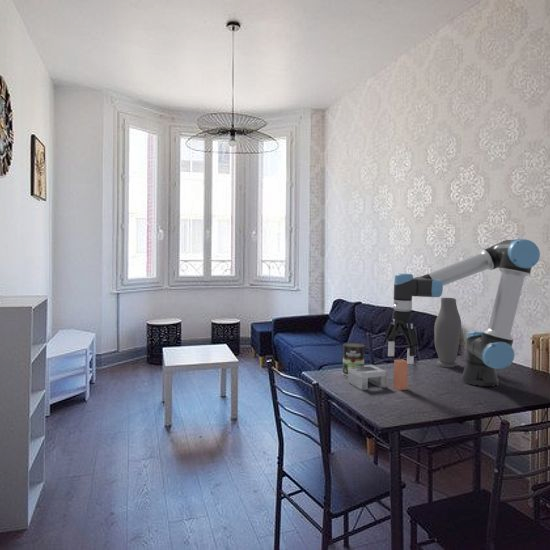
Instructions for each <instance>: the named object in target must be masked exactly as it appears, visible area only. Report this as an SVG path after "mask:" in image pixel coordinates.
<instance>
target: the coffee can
mask: <svg viewBox="0 0 550 550" xmlns="http://www.w3.org/2000/svg"><path fill="white" fill-rule="evenodd" d="M365 348H366V345H365V344H364V343H359V342H346V343H343V344H342V375H344V376H345V377H348V367H349V366H361V365H365V353H366V352H365Z"/></svg>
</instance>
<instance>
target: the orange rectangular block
mask: <svg viewBox="0 0 550 550" xmlns="http://www.w3.org/2000/svg"><path fill="white" fill-rule="evenodd" d="M393 362H394V363H393V366H394V367H393V388H394V389H396V390H397V391H404V390H408V379H409V378H408V375H409V374H408V373H409V371H408V370H409V366H408V365H409V364H407V359H406V360H405V359H402V358H401V359H394V360H393Z"/></svg>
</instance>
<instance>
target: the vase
mask: <svg viewBox="0 0 550 550" xmlns="http://www.w3.org/2000/svg"><path fill="white" fill-rule="evenodd" d="M461 319H462V318H461V315H460V313H459V309H458V305H457V299H456V298H454V297H441V299H440V309H439V312H438V315H437V317H436V319H435V322H434V326H433V327H434V329H433V330H434V331H433V332H434V339H433V340H434V347H435V350H436V354H437V357H438V360H437V361H436V366H437V365H438V367H440V366H442V367H441V368H455V367H454V366H456V365H457V366H458V362H457V361H456V360H457V357H458V352H459V346H460V340H461V332H462V320H461ZM457 366H456V367H457Z"/></svg>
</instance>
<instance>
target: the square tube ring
mask: <svg viewBox="0 0 550 550" xmlns="http://www.w3.org/2000/svg"><path fill="white" fill-rule="evenodd" d="M387 375H388V372H387V370H384V369H382V368H381V367H378V366H375V365H374V364H364V365H361V366H349V367H348V376H347V383H349V384H351V385H352V386H354V387H356V388H358V389H359V390H361V391H366V390H368V388H369V387H368V384H369V383H370V384H372V385H374V386H376V387H378V388H380V389H383V388H385V389H386V388H387Z"/></svg>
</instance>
